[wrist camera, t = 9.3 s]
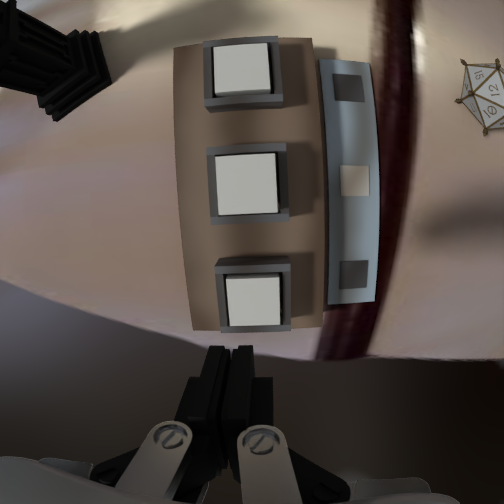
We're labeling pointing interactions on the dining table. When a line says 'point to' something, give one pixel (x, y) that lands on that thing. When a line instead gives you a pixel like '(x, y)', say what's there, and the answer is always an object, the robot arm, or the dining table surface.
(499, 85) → the game die
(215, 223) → the board
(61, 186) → the dining table surface
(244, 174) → the button middle
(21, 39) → the chess piece
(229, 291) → the button
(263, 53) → the button
